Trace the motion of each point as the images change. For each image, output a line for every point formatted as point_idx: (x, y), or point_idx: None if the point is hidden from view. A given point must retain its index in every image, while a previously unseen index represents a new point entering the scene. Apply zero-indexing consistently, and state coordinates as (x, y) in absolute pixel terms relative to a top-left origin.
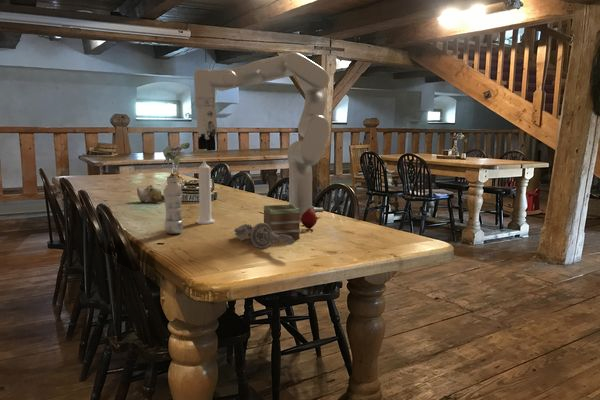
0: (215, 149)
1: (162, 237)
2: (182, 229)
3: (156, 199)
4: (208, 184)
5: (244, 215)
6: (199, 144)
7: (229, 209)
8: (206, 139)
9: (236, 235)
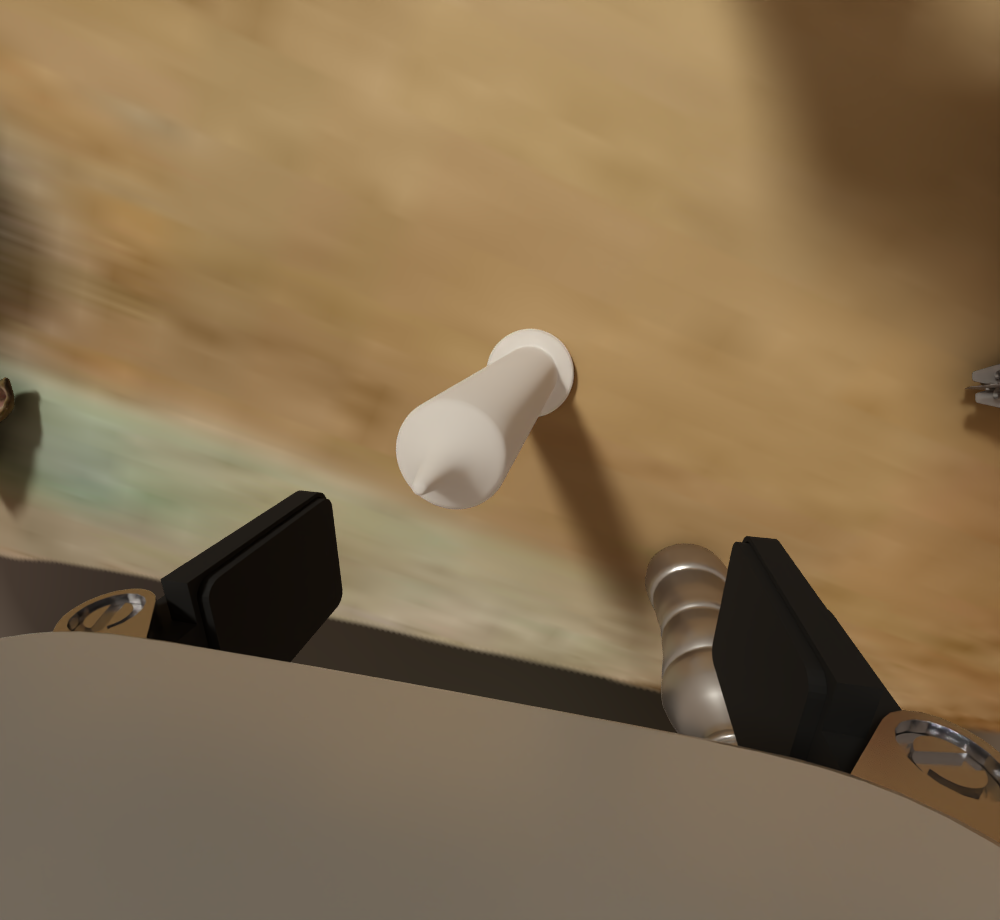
0: (776, 540)
1: None
2: (715, 555)
3: (5, 412)
4: (529, 405)
5: (443, 94)
6: (302, 642)
7: (237, 112)
8: (202, 574)
9: (984, 389)
